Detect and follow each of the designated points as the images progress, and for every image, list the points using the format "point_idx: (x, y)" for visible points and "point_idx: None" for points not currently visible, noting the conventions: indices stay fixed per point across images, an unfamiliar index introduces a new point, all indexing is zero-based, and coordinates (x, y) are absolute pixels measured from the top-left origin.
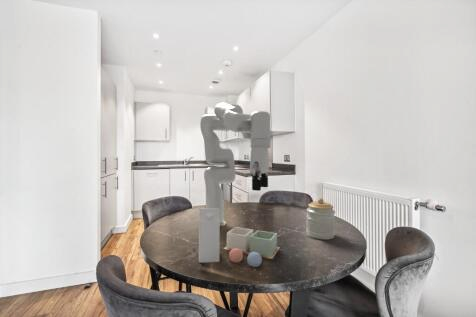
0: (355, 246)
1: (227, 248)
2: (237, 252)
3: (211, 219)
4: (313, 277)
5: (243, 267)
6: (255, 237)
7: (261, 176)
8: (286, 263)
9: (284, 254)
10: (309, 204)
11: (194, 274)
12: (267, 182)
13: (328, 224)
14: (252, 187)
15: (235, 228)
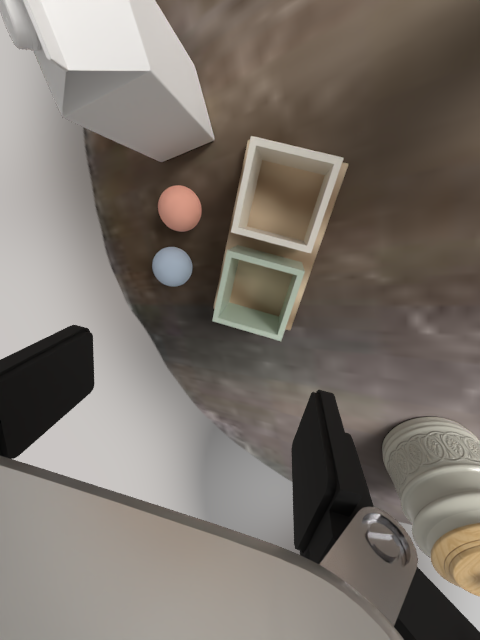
0: None
1: None
2: (162, 216)
3: (39, 54)
4: (175, 378)
5: (170, 236)
6: (224, 270)
7: (352, 520)
8: (217, 337)
9: None
10: None
11: None
12: (296, 491)
13: (399, 498)
14: (58, 336)
15: (324, 162)
